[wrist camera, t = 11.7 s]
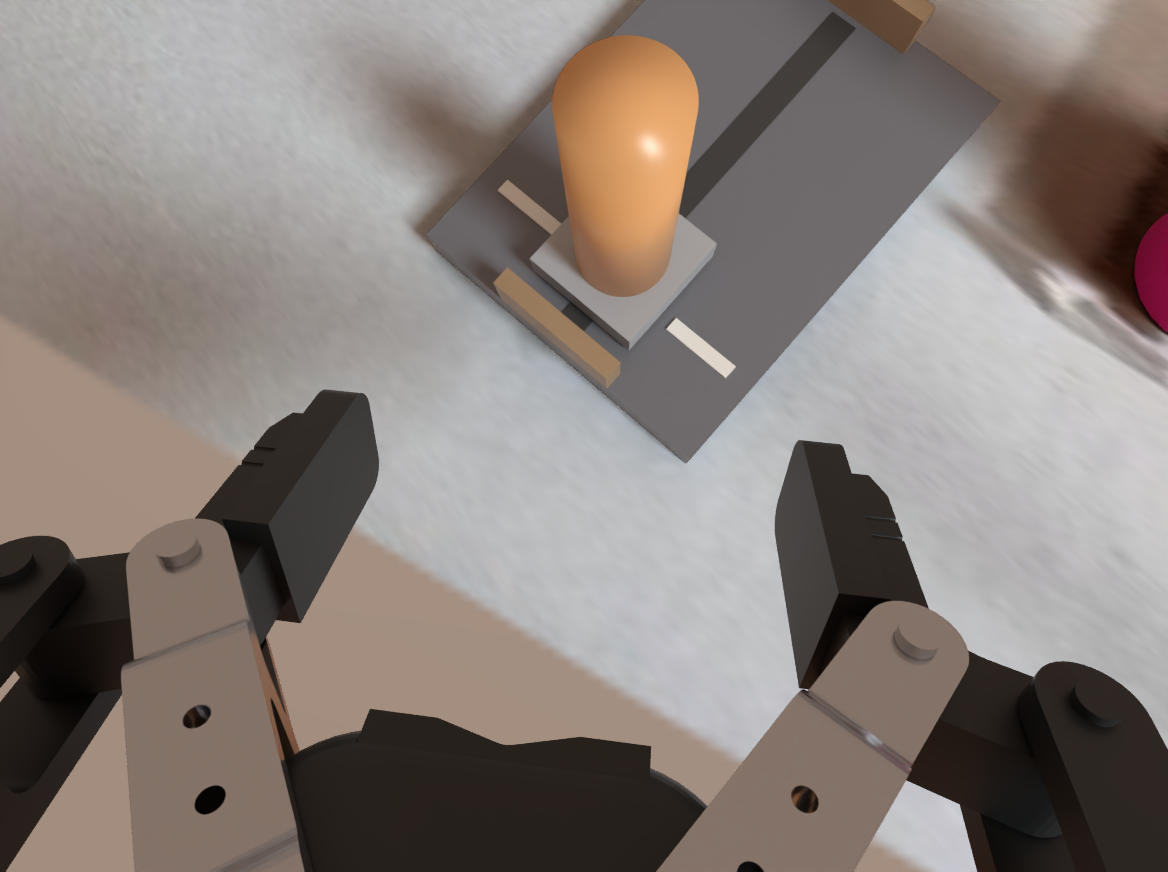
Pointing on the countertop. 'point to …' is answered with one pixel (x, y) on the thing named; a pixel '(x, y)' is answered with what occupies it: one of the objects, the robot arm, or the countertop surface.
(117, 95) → the countertop surface
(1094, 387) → the countertop surface
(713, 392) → the fader track
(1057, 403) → the countertop surface
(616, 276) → the fader
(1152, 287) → the pepper mill
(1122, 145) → the countertop surface
